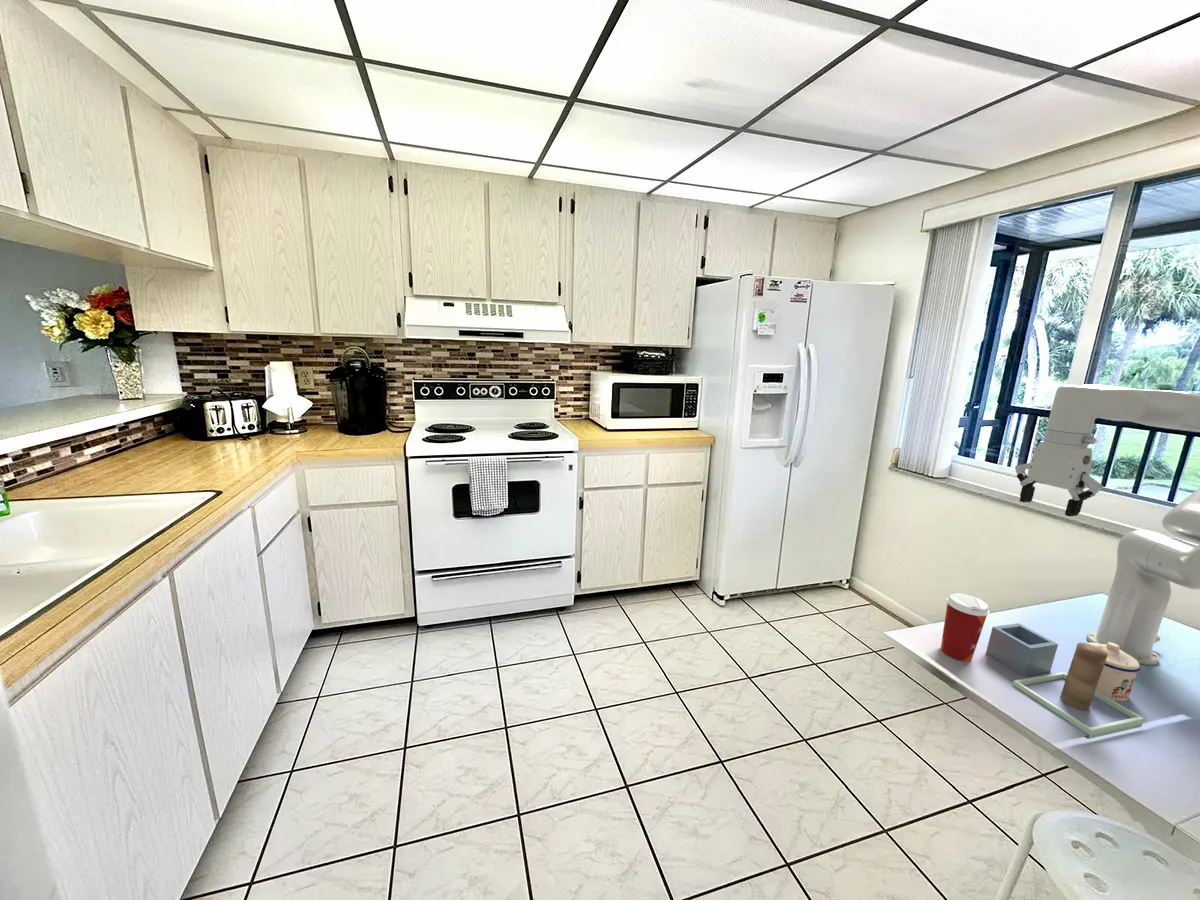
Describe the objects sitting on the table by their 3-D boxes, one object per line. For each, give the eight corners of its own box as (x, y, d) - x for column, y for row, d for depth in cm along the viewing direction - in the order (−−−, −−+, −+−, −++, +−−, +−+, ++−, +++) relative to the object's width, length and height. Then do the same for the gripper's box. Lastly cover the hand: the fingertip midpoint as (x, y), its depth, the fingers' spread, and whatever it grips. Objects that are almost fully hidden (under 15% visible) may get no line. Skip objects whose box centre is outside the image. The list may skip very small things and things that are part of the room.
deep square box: (1010, 652, 119) (1018, 623, 117) (1049, 674, 111) (1058, 644, 109) (985, 656, 116) (992, 626, 115) (1022, 679, 109) (1030, 648, 107)
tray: (1060, 679, 109) (1063, 671, 109) (1141, 726, 96) (1144, 718, 96) (1011, 688, 105) (1013, 680, 105) (1088, 738, 92) (1091, 730, 92)
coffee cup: (984, 670, 111) (999, 612, 108) (944, 664, 112) (958, 607, 109) (964, 648, 119) (978, 594, 116) (928, 643, 120) (940, 589, 117)
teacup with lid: (1120, 711, 100) (1136, 662, 97) (1063, 683, 108) (1077, 638, 105) (1139, 693, 106) (1155, 647, 103) (1084, 668, 113) (1098, 625, 111)
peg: (1069, 693, 103) (1086, 641, 100) (1094, 709, 99) (1113, 654, 96) (1054, 697, 102) (1072, 644, 99) (1079, 712, 98) (1098, 658, 95)
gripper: (1124, 446, 104) (1102, 520, 108) (1036, 431, 120) (1020, 496, 124) (1100, 447, 102) (1079, 522, 106) (1014, 431, 118) (998, 497, 122)
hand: (1047, 508), depth 115 cm, fingers open, 9 cm apart
